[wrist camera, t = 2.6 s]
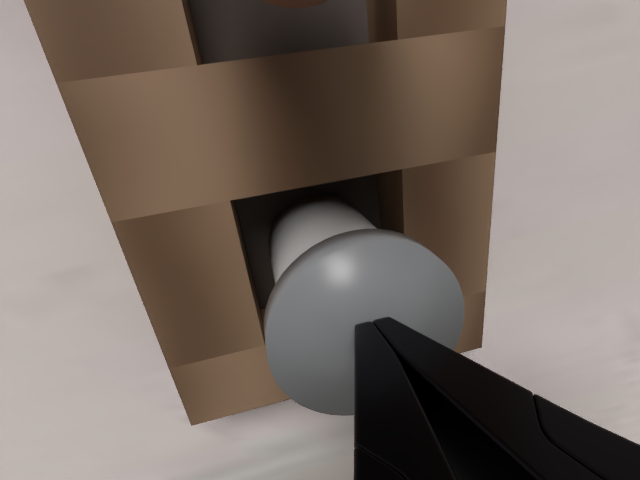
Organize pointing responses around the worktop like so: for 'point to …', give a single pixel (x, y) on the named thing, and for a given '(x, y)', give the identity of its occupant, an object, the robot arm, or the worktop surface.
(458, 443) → the robot arm
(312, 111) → the socket board
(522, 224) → the worktop surface
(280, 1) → the plug terracotta
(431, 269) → the plug grey
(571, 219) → the worktop surface
